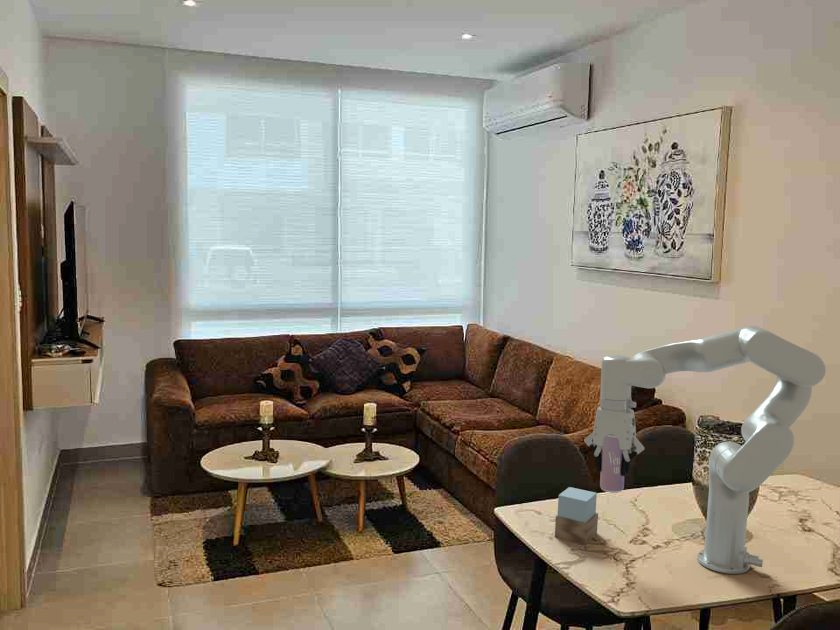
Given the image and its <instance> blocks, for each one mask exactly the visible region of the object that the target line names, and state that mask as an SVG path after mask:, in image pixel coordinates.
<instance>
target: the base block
mask: <svg viewBox="0 0 840 630" xmlns="http://www.w3.org/2000/svg"><path fill="white" fill-rule="evenodd" d="M598 520H599V513H598V512H596V514H595V515H594V516H593V517H591V518H590V519H589V520H588V521H587V522H586V523H584V522H580V521H575V520H571V519H567V518H563V517H559V516H558V514H557V515H556V516H555V525H554V526H555V527H554V537H555V538H558V539H562V540H566V541H569V542H570V541H571V542H575V543H579V544H583V545H585V546H586V545H588V544H589V543H590V542H591V540H592V539H593V538H594V537H595V536H596V535H597V534H598V525H599V524H598V522H599V521H598Z"/></svg>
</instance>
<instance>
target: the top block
mask: <svg viewBox="0 0 840 630" xmlns="http://www.w3.org/2000/svg"><path fill="white" fill-rule="evenodd" d="M597 494H598V493H597V492H594V491H589V490H585V489H580V488H575V487H572V486H571V487H570V486H568V487H567V488H566V489H565V490H564V491H562V492H561V493H559V494H558V496H557V497H558V502H557V515H558V516H559V517H563V518H567V519H571V520H575V521H580V522H584V523H586V522H587V521H588V520H589V519H590V518H591V517H593V516H594V515H595V514H596V513H597V512H596V511H597V497H598V495H597Z"/></svg>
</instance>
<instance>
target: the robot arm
mask: <svg viewBox="0 0 840 630" xmlns="http://www.w3.org/2000/svg"><path fill="white" fill-rule="evenodd" d="M749 362H750V363H751V364H754V365H755V366H757V367H759V368H761V369H762V370H765V371H767V372H769V373H771V374H773V375H774V376H776V378H775V379H776V380H775V384H774V387H773V389H772V390H771V392H770V393H768V395H767V396H766V397H765V399H764V400H763V401H762V402H761V403H760V404H759V405H758V406H757V407H756V408H755V410H754V411H752V412H751V413H750V415H748V417H747V418H746V419H745V420H744V422H742V425H741V428H740V431H741V437H742V438H743V440H744V441H745V442H744V443H743V445H741V444H739V443H737V442H735V441H730V440H729V441H722V442H720V443H717V444H716V445H715V446H714V447H713V448H712V450H711V452H710V453H709V456H708V457H709V458H708V484H709V485H708V497H707V498H708V500H707V501H708V502H707V509H706V511H707V513H706V521H705V522H706V523H705V524H706V525H705V537H704V549H702V550H699V551H698V553H697V558H696V559H697V561H698V562H699V564H701V565H702V566H703V567H705V568H707V569H709V570H711V571H715V572H717V573H718V572H719V573H723V574H730V575H732V574H733V575H738V574H745V573H746V572H748V571H749V570H750V568H751V565H752V566H754V567H757V568H758V567H759V568H763V566H764V565H763V564H764V559H762V558H760V556H759V555H757V554H750V552H748V546H746V539H747V538H746V537H747V524H748V515H749V504H750V493H751V492H753V491H755V490H756V489H758V488H759V487H760V486H761V485H762V484H764V483H765V481H766V480H768V478H769V477H770V476H771V475H772V474H773V473H774V472H775V471H776V470H777V469H778V468H779V467H780V466H781V465H782V464H783V463H784V462H785V460H787V459H788V457H789V456H790V454H791V452H792V451H793V448H794V445H795V435H794V434H793V431H792V429H791V427H792V426H793V425H794V423H795V422H797V420H798V419H799V417H800V416H801V415H802V414H803V413H804V411H805V410H806V408H807V406H809V403H810V399H811V397H812V393H813V392H812V389H813V387H814V386H816V385H818V384H819V383H821V382H822V381H823V379H824V377H825V375H826V365H825V362H824V360H823V359H822V358H821V357H820V356H819V355H818V354H816V353H815V352H812V351H810V350H807V349H805V348H804V347H802V346H799V345H797V344H795V343H792V342H790V341H789V340H787V339H784V338H783V337H781V336H778V335H776V333H773V332H771V331H769V330H767V329H765V328H763V327H760V326H756V325H748V326H743V327H739V328H735V329H732V330H728V331H725V332H724V331H723V332H721V333H718V334H714V335H710V336H707V337H703V338H699V339H692V340H687V341H682V342H681V341H680V342H675V343H670V344H666V345H662V346H658V347H653V348H650V349H647V350H644V351H640V352H638V353H636V354H635V355H633V356H632V358H630V357H629V356H625V355H619V354H618V355H617V354H612V355H607V356H604V357H603V358H602V360H601V366H600V367H601V369H600V370H601V371H600V372H601V373H600V396H599V398H600V399H599V401H600V402H599V406H598V407H597V409H596V413H595V417H594V418H595V419H594V423H593V424H594V425H593V431H592V432H591V433H590V434H588V436H586V437H585V438H583V441H584V443H585V444H586V445H587V446H588V448H589V450H590V451H591V452H592V454H593V456H594V457H595V468H596V472H597V473H601V449H602V446H603V441H604V437H605V436H606V434H607V435H612V436H617V439H618V440H619V446H620V449H621V450H622V452H623V455H624V461H623V470H622V476H624V478H625V477H627V476H628V475H629V473H631V465H632V464H631V463H632V459H634V458H635V457H637V456H638V455H639V454H640V453H642V452H643V451H644V450H645V446H644V445H643V444H642V442H640V441H639V439H638V438H637V436H636V435H637V433H636V431H637V428H636V418H635V412H634V410H633V408H637V402H636V401H634V400H632V387H637V388H644V389H654V388H657V387H659V386H661V385H662V384H663V383H664V382H665V379H666V375H667V374H668V375H669V374H674V373H677V372H695V373H713V372H714V371H720V370H722V369H727V368H730V367H734V366H737V365H741V364H745V363H749ZM633 447H635V449H634V450H633V451H631V450H632V448H633Z"/></svg>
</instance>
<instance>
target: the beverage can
mask: <svg viewBox="0 0 840 630" xmlns="http://www.w3.org/2000/svg"><path fill="white" fill-rule="evenodd" d="M623 461H624V455H623V452H622V450H621V449H620V446H619V440H618V439H617V436H612V435H607V434H606V436H605V437H604V441H603V446H602V449H601V471H600V475H599V476H600V478H599V479H600V480H599V487H600V489H601V490H602V491H603V492H607V493H610V494H611V493H612V494H618V493H619V494H620V493H621V492H622V491H624V488H625V477H624V476H622V470H623Z"/></svg>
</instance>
